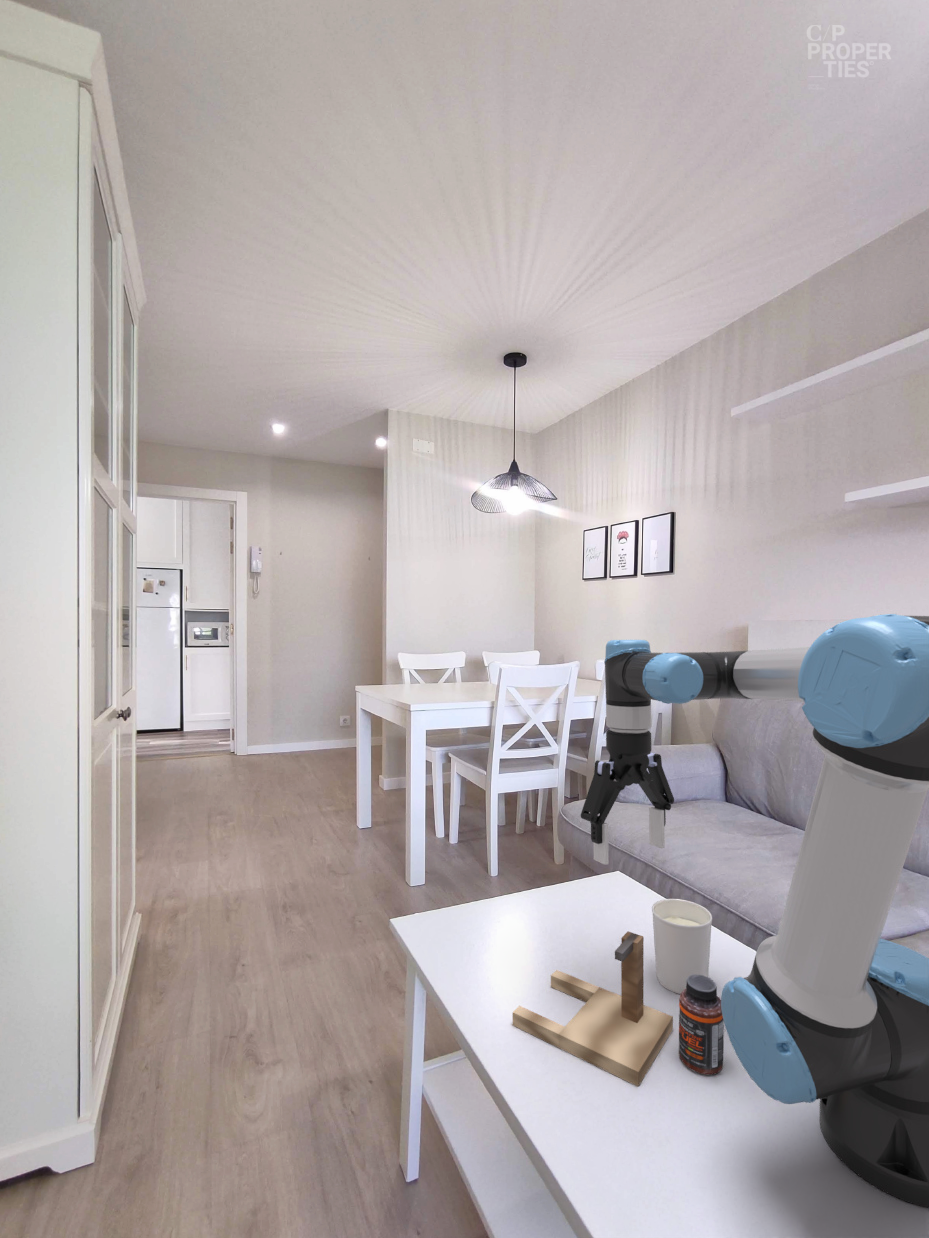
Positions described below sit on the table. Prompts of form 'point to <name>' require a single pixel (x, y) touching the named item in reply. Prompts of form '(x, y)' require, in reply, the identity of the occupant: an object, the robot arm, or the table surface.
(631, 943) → the hook post
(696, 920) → the candle holder
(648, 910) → the table surface
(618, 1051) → the oak forked base
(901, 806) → the robot arm
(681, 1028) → the supplement bottle
